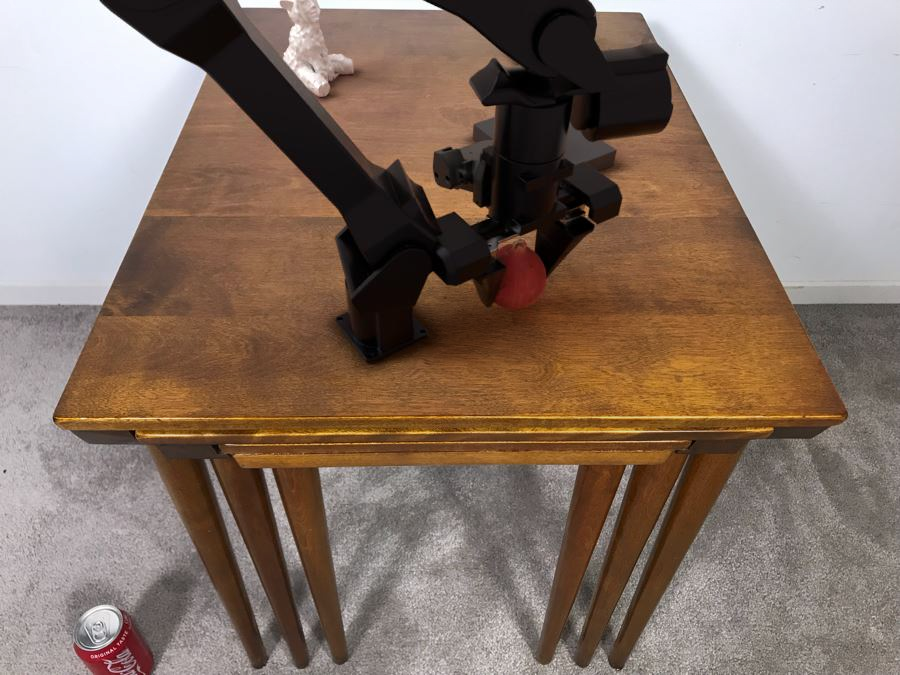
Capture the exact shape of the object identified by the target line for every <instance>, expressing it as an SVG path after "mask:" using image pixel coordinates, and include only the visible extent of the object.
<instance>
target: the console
mask: <svg viewBox="0 0 900 675" xmlns="http://www.w3.org/2000/svg"><path fill="white" fill-rule="evenodd" d="M494 120H495V116H494V117H493V116H492V117H490V118H487V119H484V120H481V121H478V122H475V123H473V124H472V125H473V126H472V141H473V142H474V143H477V142H480V141H484V140H493V134H494ZM617 150H618V149H616V148H614V147H613V146H611V145H610V144H608V143H606V141H598V142H589V141H588V140H586V139H585V138H584V136H583V135H582V133H581V131H577V130H575V129H574V128H573V127H572V125H571V123H569V130H568V136H567V143H566V150H565V156H564V157H565V158H566V159H568V160H569V161H571V162H572V163H573V164H574V165H576V164H579V163H581V162H586V163H587V164H589V165H590V166H592V167H593V168H594V169H596V170H597V171H599V172H602V171H604V170H606V169H609V168H611V167H613V166H614V165H615V160H616V156H617Z"/></svg>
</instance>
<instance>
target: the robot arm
mask: <svg viewBox="0 0 900 675" xmlns="http://www.w3.org/2000/svg"><path fill="white" fill-rule="evenodd" d="M98 1H99V2H100V3H101V4H102V6H104V8H106V9H107V10H108V11H110V13H112V14H113V15H115V16H116V17H118V18H119V19H120V20H121V21H123V22H124V23H125V24H127V25H128V26H129V27H131V28H132V29H133V30H135V31H136V32H138V33H139V34H140V35H142V36H143V37H144V38H145V39H146V40H148V41H150V43H152V44H153V45H155V46H156V47H158V48H159V49H161V50H162V51H163V50H164V51H165V52H168V53H169V54H172V55H174V56H175V57H178V58H180V59H182V60H185V62H188V63H190V64H192V65H195V66H196V67H198V68H199V69H201V70H202V71H203V72H205V73H206V74H207V75H208V76H209V77H210V78H211V79H212V81H214V83H216V85H218V87H219V88H221V90H222V91H223V92H224V93H225V94H226V95H227V96H228V97H229V98H230V99H231V100H232V101H233V102H234V103H235V104H236V106H238V107H239V108H240V110H241V111H242V112H243V113H245V115H246V116H247V117H248V118H249V119H250V120H251V121H252V122H253V123H254V124H255V125H256V126H257V128H259V129H260V130H261V131H262V132H263V133H264V134H265V136H266V137H267V138H268V139H269V140H270V141H271V142H272V143H273V144H274V145H275V146H276V147H277V148H278V149H279V150H280V151H281V153H283V154H284V155H285V156H286V158H288V160H290V161H291V162H292V163H293V165H294V166H295V167H296V168H297V169H298V170H299V171H300V172H301V173H302V174H303V175H304V176H305V177H306V178H307V179H308V180H309V181H310V182H311V183H312V185H314V187H315V188H317V190H318V191H319V192H320V193H321V194H322V195H323V196H324V197H325V199H327V201H328V202H330V203H331V205H332V206H334V208H336V210H337V211H338V212H339V214H340V215H341V217H342V219H343V221H344V223H345V226H343V228H342V229H341V230H340V231H339V232H338V233H337V234H335V236H334V240H335V244H336V248H337V251H338V255H339V259H340V263H341V267H342V270H343V274H344V287H345V296H346V305H347V311H346V312H344V313H341V314H339V315H337V316H335V318H334V323H335V325H336V326H337V328H338V329H339V330H340V332H341V333H342V334H343V335H344V336H345V338H346V339H347V340H348V342H349V343H350V344H351V345H352V347H353V348H354V349H355V351H356V352H357V353H358V354H359V355H360V357H361V358H362V359H363V360H364V362H366V364H372V363H375V362H378V361H379V360H381V359H383V358H386V357H388V356H390V355H392V354H394V353H397V352H399V351H401V350H403V349H406V348H408V347H410V346H412V345H414V344H416V343H419V342H420V341H423V340H425V339H427V338H428V337H429V330H428V329H427V328H426V326H425V325H424V324H423V323H422V322H421V321H420V320H419V319H418V317H416V316H415V314H414V307H416V305H417V304H418V301H419V298H420V296H421V294H422V291H423V289H424V287H425V285H426V283H427V280H428V278H429V276H430V275H431V274H432V273H434V274H435V275H436V276H437V277H438V278H439V279H440V280H441V281H442V282H443V283H444V284H445V285H446V286H450V287H451V286H452V287H458V286H460V285H462V284H465V283H467V282H469V281H472V282H473V285H474V288H475V290H476V292H477V295H478V298H479V300H480V302H481V304H483V306H484V307H486V309H489V308H492V306H493V304H494V301H495V298H496V296H497V293H498V290H499V287H500V285H501V282H502V279H503V276H504V274H505V271H506V266H505V265H504V264H503V263H502V262H501V261H500V260H499V259H497V258H496V256H497V250H498V249H499V245H501V244H503V243H506V242H507V241H510V240H512V239H514V238H517V237H522V236H525V235H527V234H529V233H532V232H535V242H534V250H533V251H534V252H536V253H537V254H538V255H539V257H540V259H541V260H542V262H543V264H544V266H545V269H546V280H547V279H548V278H549V277H550V276H551V275H552V273H553V272H554V271H555V270H556V269H557V268H558V267H559V266H560V265H561V263H562V262H563V261H564V260H565V259H566V258H567V256H568V255H569V254H570V253H572V251H573V250H574V249H575V248H576V247H577V246H578V245H579V244H580V243H581V242H582V241H583V240H584V239H585V238H586V237H587V236H588V235H589V234H591V233H593V232H594V231H595V228H596V226H595V225H600V224H602V223H604V222H606V221H609V220H611V219H614V218H616V217H618V216H619V215H620V211H621V207H622V203H623V199H624V198H623V194H622V191H621V188H620V186H619V185H618V184H617V183H616V182H614V181H613V180H612V179H610V178H609V177H607V176H606V175H605V174H603V173H602V172H601V171H597V170H596V169H594V168H593V167H592V166H590V165H589V164H587V163H586V162H581V163H579V164H576V165H574V164H573V163H572V162H571V161H569V160H568V159H566V158H565V157H564V156H565V150H566V143H567V136H568V130H569V123H571V125H572V127H573V128H574V129H575V130H577V131H581V133H582V135H583V136H584V138H585V139H586V140H588V141H589V142H598V141H604V142H606V141H612V140H618V139H627V138H634V137H642V136H651V135H657V134H659V133H662V132H663V131H664V130H665V129H666V128H667V127H668V125H669V123H670V121H671V119H672V115H673V111H674V104H673V102H672V99H673V92H672V91H673V90H672V83H671V78H670V75H669V72H668V69H667V66H668V62H669V58H670V54H669V52H667V51H666V50H665V49H664V48H663V47H662V46H661V45H660V44H659V43H657V42H647V43H642V44H638V45H636V46H632V47H625V48H615V49H614V48H613V49H607V50H605V49H604V50H601V48H600V46H599V45H598V43H597V40H596V33H597V28H598V20H597V9H596V8H595V6H594V4H593V3H592V1H590V0H422V1H423V2H426V3H427V4H429V5H432V6H433V7H436V8H438V9H439V10H442V11H444V12H447V13H449V14H451V15H453V16H455V17H457V18H459V19H460V20H462V21H463V22H465V23H466V24H468V25H469V26H470V27H472V28H473V29H474V30H475V31H476V32H478V34H480V35H481V36H482V37H483V38H485V39H486V40H487V41H488V42H489V43H490V44H492V46H494V47H495V48H496V49H497V50H499V51H500V52H501V53H502V54H504V55H505V56H507V57H508V58H509V59H511V60H512V61H513V62H515V63H516V64H517V65H512V66H505V65H503V64H502V63H501V62H500V61H499V59H498V58H497V57H492V58H490V60H489V61H488V63H487V64H486V65H485V66H484V67H483V68H481V69H479V70H478V71H476V72H475V73H474V74H473V75H471V76H470V77H469V79H468V84H469V86H470V87H471V89H472V90H473V93H474V94H475V95H476V97H477V99H478V100H479V102H480V104H481V105H482V106H483V107H486V108H488V107H495V109H494V117H495V120H494V134H493V140H484V141H480V142H477V143H476V142H474V143H470V144H468V145H465V146H462V147H459V148H457V147H455V148H453V147H452V146H446V147H443V148H440V149H437V150H435V151H433V158H432V172H433V179H434V182H435V183H436V185H437V186H438V187H440V188H443V189H446V190H449V191H451V190H455V191H459V190H463V191H466V192H469V193H472V202H473V203H474V204H475V205H476V206H477V207H478V208H480V209H483V208H486V209H487V211H488V212H487V214H485V219H483V220H480V221H478V222H476V223H474V224H471V225H470V224H469V223H468V222H467V221H466V220H465V219H464V218H463V217H461V215H459V214H458V213H457V212H456V211H452V212H449V213H446V214H444V215H441V216H438V217H436V214H435V213H434V210H433V207H432V205H431V203H430V200H429V199H428V196H427V193H426V192H425V190H424V187H423V186H422V185H421V184H418V183H416V182H415V181H414V180H413V179H411V177H410V176H409V175H408V173H407V172H406V170H405V168H404V166H403V164H402V162H401V160H400V159H399V158H397V159H395V160H394V161H393V162H392V163H391V164H390V165H389V166H388V167H387V168H384V167H381V166H380V165H378V164H375V163H373V162H372V161H371V160H369V159H368V158H367V157H366V156H365V154H364V153H363V152H362V151H361V150H360V148H358V146H357V144H355V143H354V141H353V140H352V138H350V137H349V136H348V135H347V133H346V131H345V130H344V129H343V128H341V125H339V123H338V122H337V121H336V120H335V119H334V117H332V115H331V114H330V113H329V111H327V109H326V108H325V107H324V106H323V104H321V102H320V101H319V100H318V99H317V98H316V97H315V96H316V95H315V94H314V93H312V92H311V91H309V89H308V88H307V87H306V86H305V85H304V83H303V82H302V81H301V80H300V79H299V78H298V76H297V75H296V74H295V73H294V72H293V70H292V69H291V68H290V67H289V66H288V64H287V63H286V62H285V61H284V60H283V57H282V56H281V54H279V52H278V51H277V50H276V49H275V48H274V46H272V44H271V43H270V42H269V40H267V39H266V37H265V36H264V34H262V33H261V31H260V30H259V29H258V28H257V26H255V24H254V23H253V21H252V20H251V19H250V18H249V17H248V15H247V14H246V12H245V11H244V9H243V8H242V6H241V4H240V2H239V0H98ZM586 207H587V208H588V213H586V212H587V211H586V210H585V208H586ZM586 214H587V217H586Z"/></svg>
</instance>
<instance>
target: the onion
mask: <svg viewBox="0 0 900 675" xmlns="http://www.w3.org/2000/svg"><path fill="white" fill-rule="evenodd" d="M496 258H497V259H499V260H500V261H501V262H502V263H503V264H504V265H505V266H506V271H505V274H504V276H503V279H502V282H501V285H500V287H499V290H498V293H497V296H496V298H495V301H494V302H493V304H494V305H496V306H498V307H500V308H502V309H506V310H520V309H526V308H528V307H529V306H531V305H533V304H535V303H536V302H537V301H538V300H539V299H540V297H541V296H542V295H543V294H544V292H545V289H546V285H547V279H546V269H545V266H544V264H543V262H542V260H541V259H540V257H539V255H538V254H537V253H536V252H534V250H533V249H532V248H530V247H529V246H528V244H527V242H526V240H525V239H522V238H518V239H516V240H514V241H513V242H512V243H507V244H505V245H502V246H501V247H500V248H498V250H497V256H496Z"/></svg>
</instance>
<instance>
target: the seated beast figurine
mask: <svg viewBox="0 0 900 675" xmlns="http://www.w3.org/2000/svg"><path fill="white" fill-rule="evenodd" d="M279 6H280V8H282V9H283V10H286V12H287V14H288V16H289V18H290V20H291V21H292V23H294V25H293V26H292V27H290V28H291V29H290V31H289V37H288V42H289V45H288V46H287V48H286V51H285V52H283V57H282V59H283V60H284V61H285V62H286V63H287V64H288V66H289V67H290V68H291V69H292V70H293V72H294V73H295V74H296V75H297V76H298V78H299V79H300V80H301V81H302V82H303V83H304V85H305V86H306V87H307V88H308V89H309V91H310V92H311V93H312V94H313V95H314V96H317V97H318V98H323V97H327V95H329V93H330V90H331V86H330V83H329V82H333V81H334V80H336V78H337V77H338V76H339V75H349V76H350V75H354V71H355V70H354V69H355V68H354V66H355V65H354V60H353V59H352V58H349V57H346V56H345V55H343V54H342V53H332V54H329V49H328V48H327V47H326V41H325V37H324V33H323V31H322V29H321V28H320V26H321V25H320V23H319V22H320V20H321V19H320V15H321V11H322V10H321V7H320V4H319V3H318V0H279Z"/></svg>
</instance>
